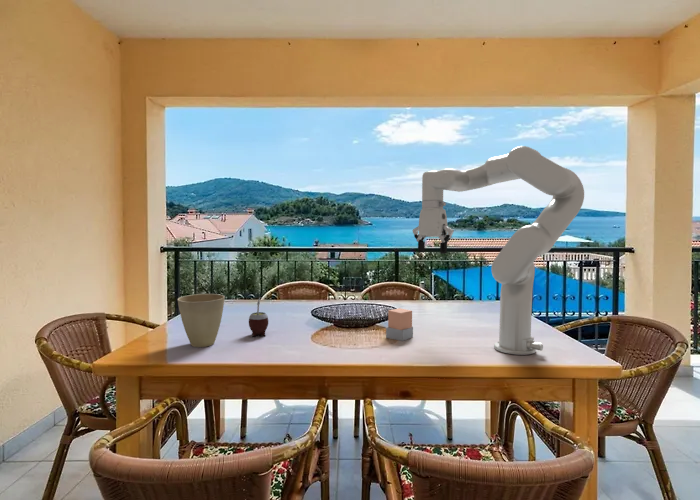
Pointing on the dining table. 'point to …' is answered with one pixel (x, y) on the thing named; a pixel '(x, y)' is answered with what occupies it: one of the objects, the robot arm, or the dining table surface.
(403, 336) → the slate-grey block
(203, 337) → the plant pot
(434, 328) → the dining table surface
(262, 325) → the mate gourd
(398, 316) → the terracotta cube
